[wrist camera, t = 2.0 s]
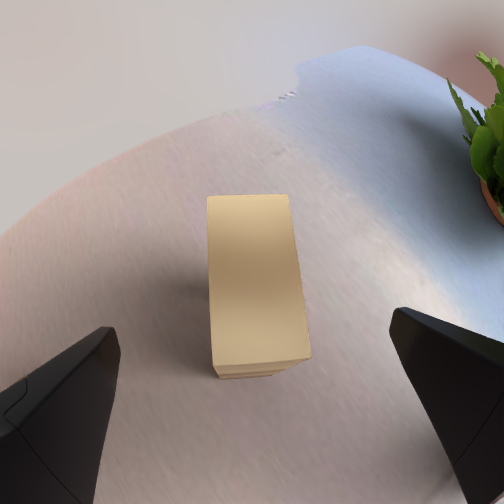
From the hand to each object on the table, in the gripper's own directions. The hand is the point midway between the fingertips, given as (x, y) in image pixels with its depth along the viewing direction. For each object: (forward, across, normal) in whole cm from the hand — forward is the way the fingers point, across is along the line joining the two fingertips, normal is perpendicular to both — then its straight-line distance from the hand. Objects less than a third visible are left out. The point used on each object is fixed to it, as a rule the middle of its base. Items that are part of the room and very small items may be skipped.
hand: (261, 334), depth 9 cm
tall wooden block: (+9, 0, +6) cm, 10 cm away
